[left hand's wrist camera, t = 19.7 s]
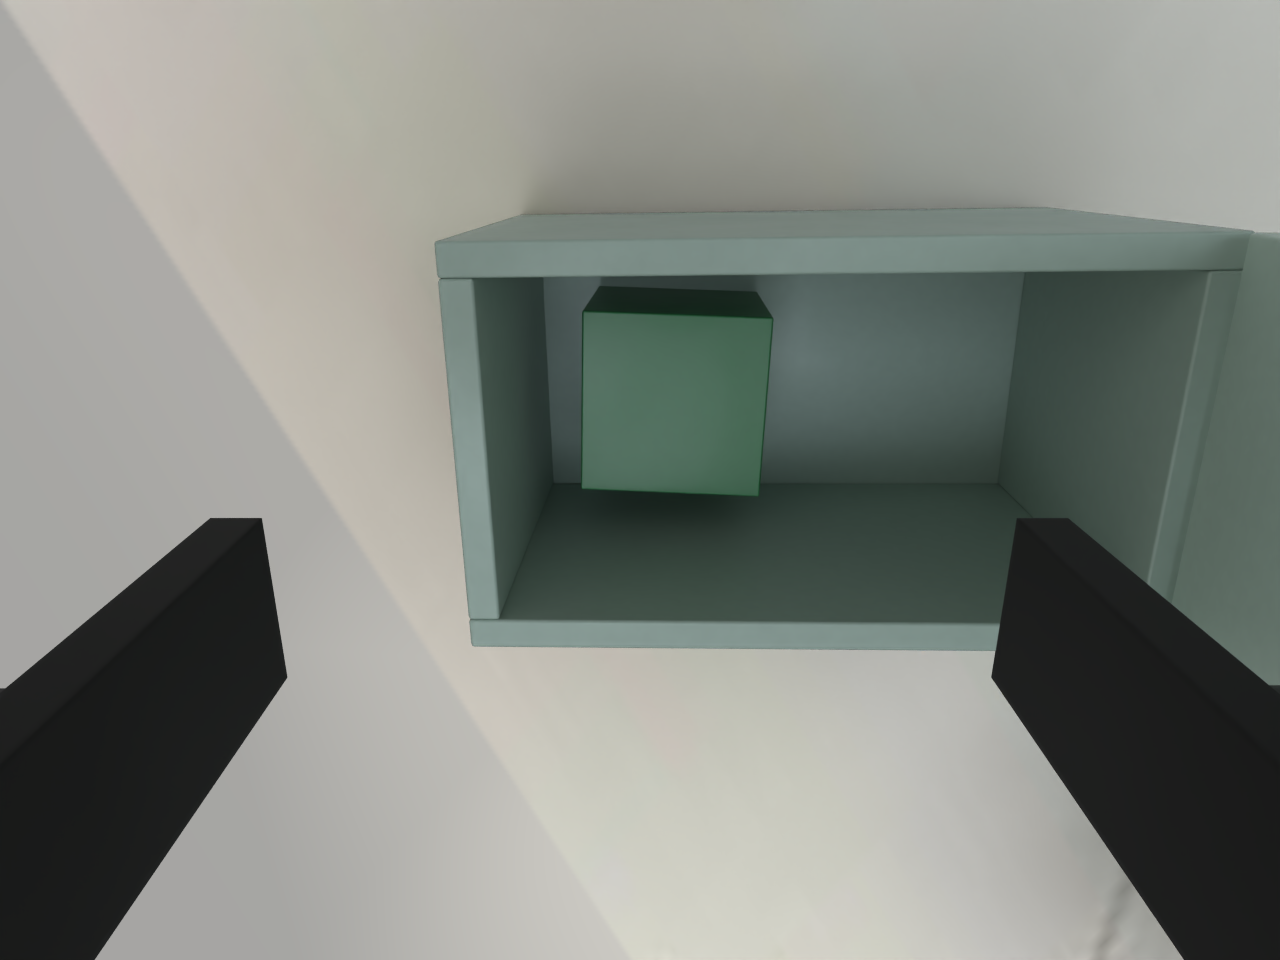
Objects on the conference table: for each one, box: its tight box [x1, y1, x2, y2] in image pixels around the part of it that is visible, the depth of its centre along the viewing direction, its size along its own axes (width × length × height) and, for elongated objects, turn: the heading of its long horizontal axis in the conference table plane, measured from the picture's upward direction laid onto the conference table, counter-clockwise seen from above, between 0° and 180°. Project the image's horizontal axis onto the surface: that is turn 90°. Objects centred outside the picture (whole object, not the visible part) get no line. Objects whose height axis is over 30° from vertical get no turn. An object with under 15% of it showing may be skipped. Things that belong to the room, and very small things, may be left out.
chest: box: [435, 207, 1255, 651], centre depth 26 cm, size 17×10×11 cm, turn 91°
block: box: [581, 286, 774, 497], centre depth 28 cm, size 5×5×5 cm
